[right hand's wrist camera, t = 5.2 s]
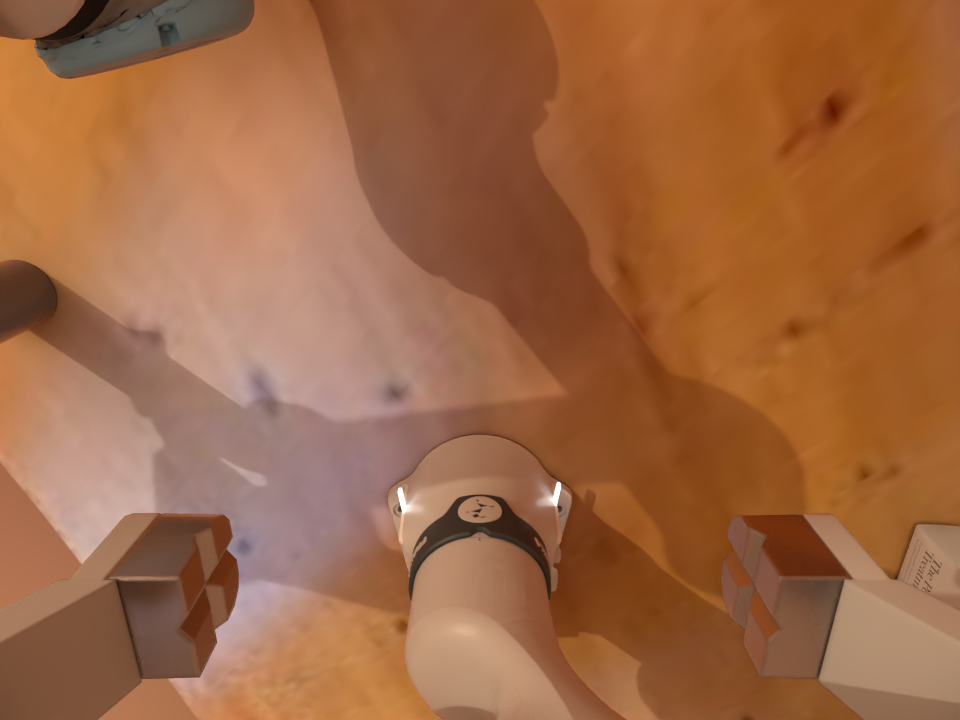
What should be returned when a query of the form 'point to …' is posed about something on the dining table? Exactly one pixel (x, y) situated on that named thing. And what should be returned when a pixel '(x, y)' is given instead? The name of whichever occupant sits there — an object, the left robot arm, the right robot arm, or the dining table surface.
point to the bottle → (23, 298)
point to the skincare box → (934, 562)
